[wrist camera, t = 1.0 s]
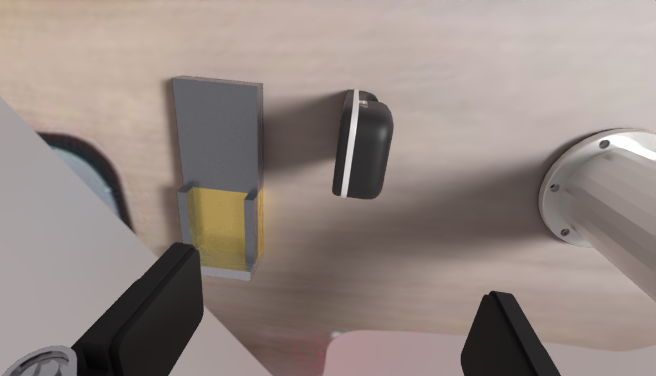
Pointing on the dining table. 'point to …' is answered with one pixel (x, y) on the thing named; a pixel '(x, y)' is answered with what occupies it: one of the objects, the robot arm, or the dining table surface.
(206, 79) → the grey and yellow block
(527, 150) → the dining table surface
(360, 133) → the battery charger
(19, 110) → the dining table surface
